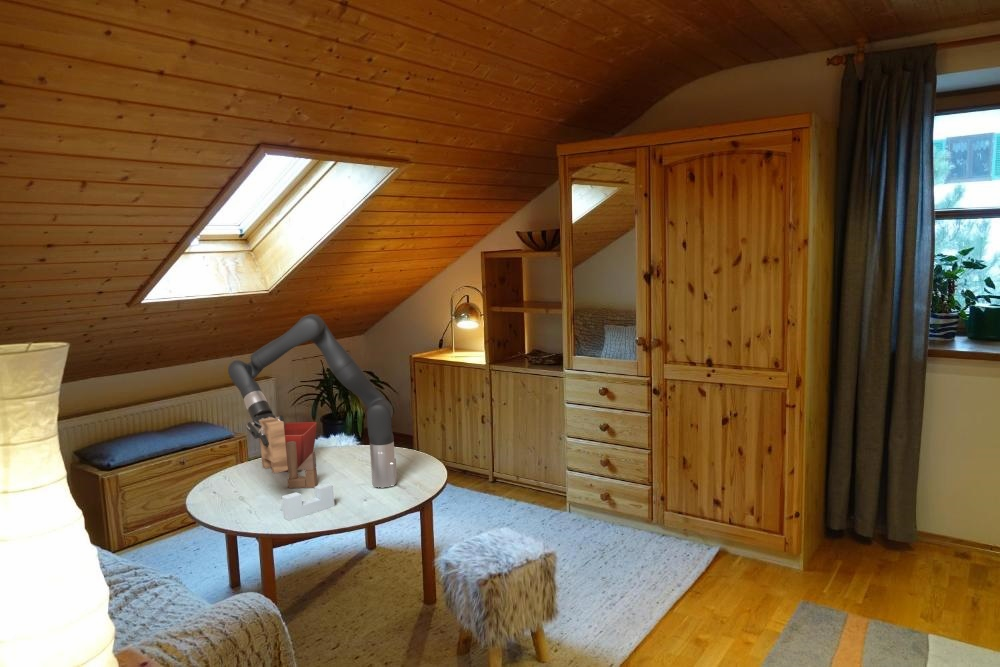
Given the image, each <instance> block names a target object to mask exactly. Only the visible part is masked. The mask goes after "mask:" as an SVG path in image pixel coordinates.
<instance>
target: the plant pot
mask: <svg viewBox="0 0 1000 667" xmlns="http://www.w3.org/2000/svg"><path fill="white" fill-rule="evenodd" d="M284 423H285V429H284V432H285V443H287V442H290V441H294V442H296V451H297V464H298V467H299V466H300V465H301V464H302V463H303V462H304V461H305V460H306V459H307V458H308V457H309V456H310V455H311V454H312V453H313V451H314V447H315V444H316V437H317V436H316V435H317V426H318V425H317V423H318V422H317V421H314V422H313V421H312V422H311V421H310V422H306V421H305V422H284ZM258 440H259V441H260V438H258ZM286 454H287V446H286ZM287 465H288V459H287ZM269 469H270V470H271V471H272V467H270V468H269ZM302 471H303V470H300V471H299V472H302ZM282 472H284V471H282ZM285 472H288V470H286V471H285Z"/></svg>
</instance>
